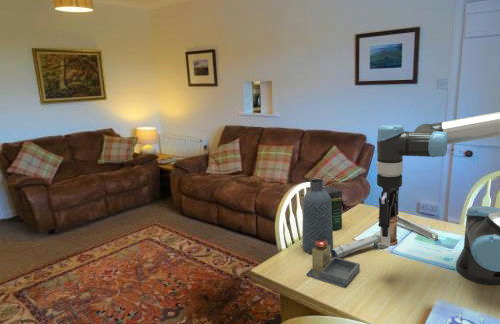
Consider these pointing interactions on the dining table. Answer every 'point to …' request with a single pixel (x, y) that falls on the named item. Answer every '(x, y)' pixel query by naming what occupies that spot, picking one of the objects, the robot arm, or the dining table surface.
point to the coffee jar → (335, 206)
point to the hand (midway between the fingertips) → (388, 240)
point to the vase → (316, 216)
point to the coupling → (393, 230)
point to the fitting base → (331, 266)
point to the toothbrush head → (357, 245)
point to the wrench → (416, 227)
